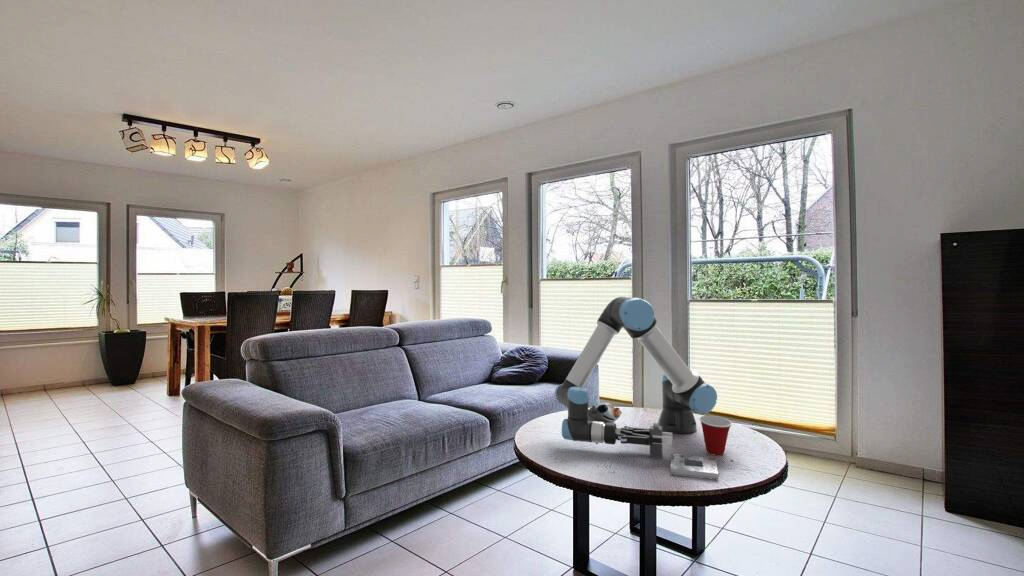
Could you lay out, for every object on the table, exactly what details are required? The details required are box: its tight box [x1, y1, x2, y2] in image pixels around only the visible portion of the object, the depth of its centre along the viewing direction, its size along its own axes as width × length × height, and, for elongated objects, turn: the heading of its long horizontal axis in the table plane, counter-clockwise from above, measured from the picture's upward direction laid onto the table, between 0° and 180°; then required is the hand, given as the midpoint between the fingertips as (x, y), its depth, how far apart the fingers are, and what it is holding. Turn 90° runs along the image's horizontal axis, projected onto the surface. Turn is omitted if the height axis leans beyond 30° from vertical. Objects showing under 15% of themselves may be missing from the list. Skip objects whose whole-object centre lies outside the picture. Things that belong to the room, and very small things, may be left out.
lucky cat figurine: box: [588, 402, 623, 424], centre depth 210 cm, size 15×12×14 cm
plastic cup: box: [699, 415, 733, 456], centre depth 180 cm, size 11×11×12 cm
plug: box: [649, 422, 663, 459], centre depth 178 cm, size 4×4×12 cm
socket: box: [670, 452, 719, 480], centre depth 165 cm, size 14×14×3 cm
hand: (672, 438), depth 176 cm, fingers closed on plug, 4 cm apart
